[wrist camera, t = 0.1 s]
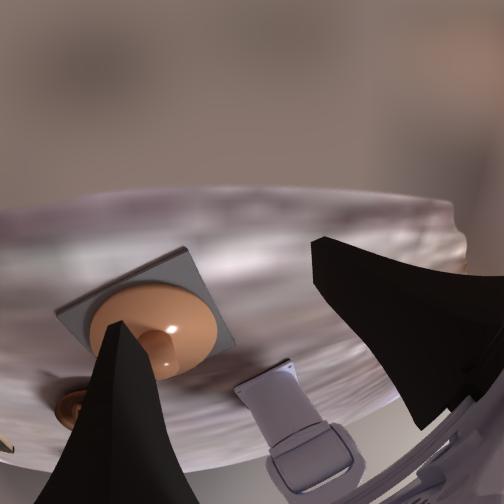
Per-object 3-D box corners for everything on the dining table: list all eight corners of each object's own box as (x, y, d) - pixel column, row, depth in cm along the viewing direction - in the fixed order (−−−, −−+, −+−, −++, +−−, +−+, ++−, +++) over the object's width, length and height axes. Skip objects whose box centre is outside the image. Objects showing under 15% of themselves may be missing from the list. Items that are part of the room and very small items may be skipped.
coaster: (235, 342, 26) (236, 345, 26) (133, 386, 24) (133, 389, 24) (187, 248, 19) (188, 250, 19) (56, 313, 17) (56, 316, 17)
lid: (230, 344, 26) (244, 372, 23) (134, 385, 24) (140, 415, 21) (184, 259, 19) (196, 289, 16) (64, 318, 17) (59, 353, 14)
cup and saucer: (38, 402, 21) (37, 447, 16) (93, 364, 21) (96, 420, 16) (110, 434, 28) (117, 472, 23) (170, 405, 29) (184, 448, 24)
